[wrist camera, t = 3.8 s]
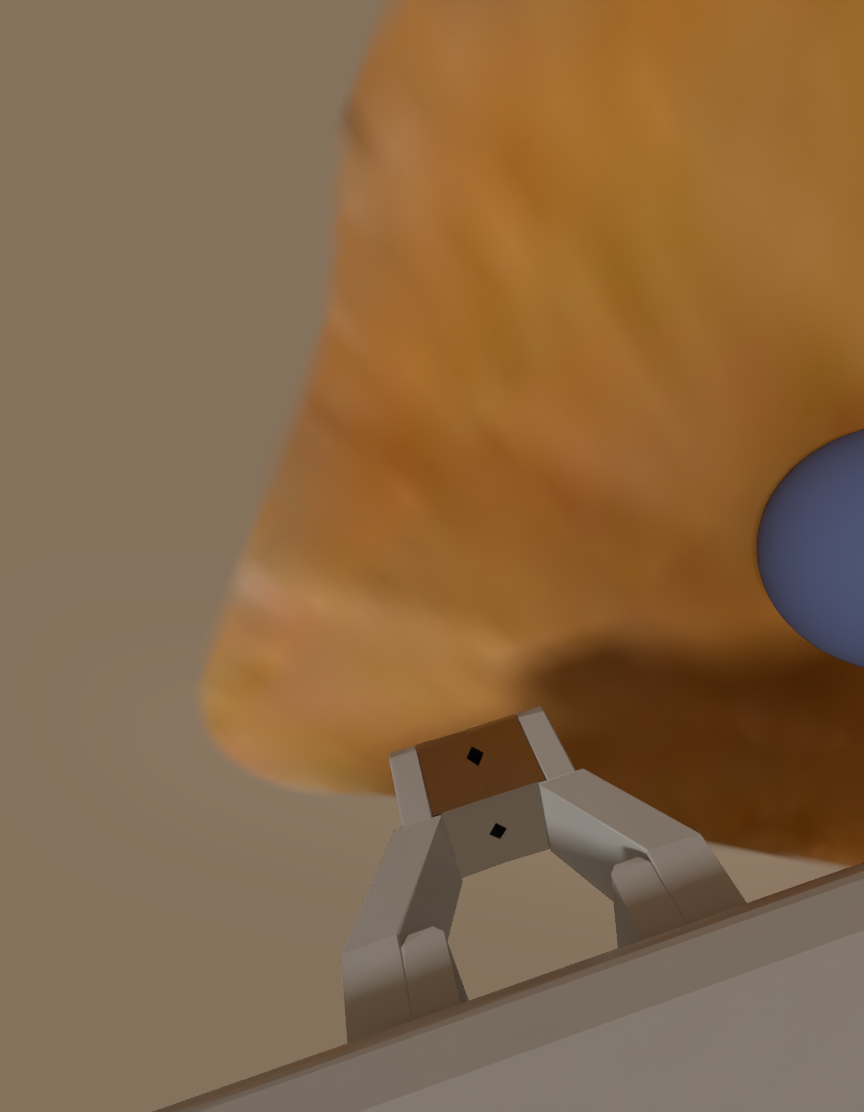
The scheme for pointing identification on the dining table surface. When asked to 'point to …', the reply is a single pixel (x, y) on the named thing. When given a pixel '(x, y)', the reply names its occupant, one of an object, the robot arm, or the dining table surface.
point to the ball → (819, 548)
